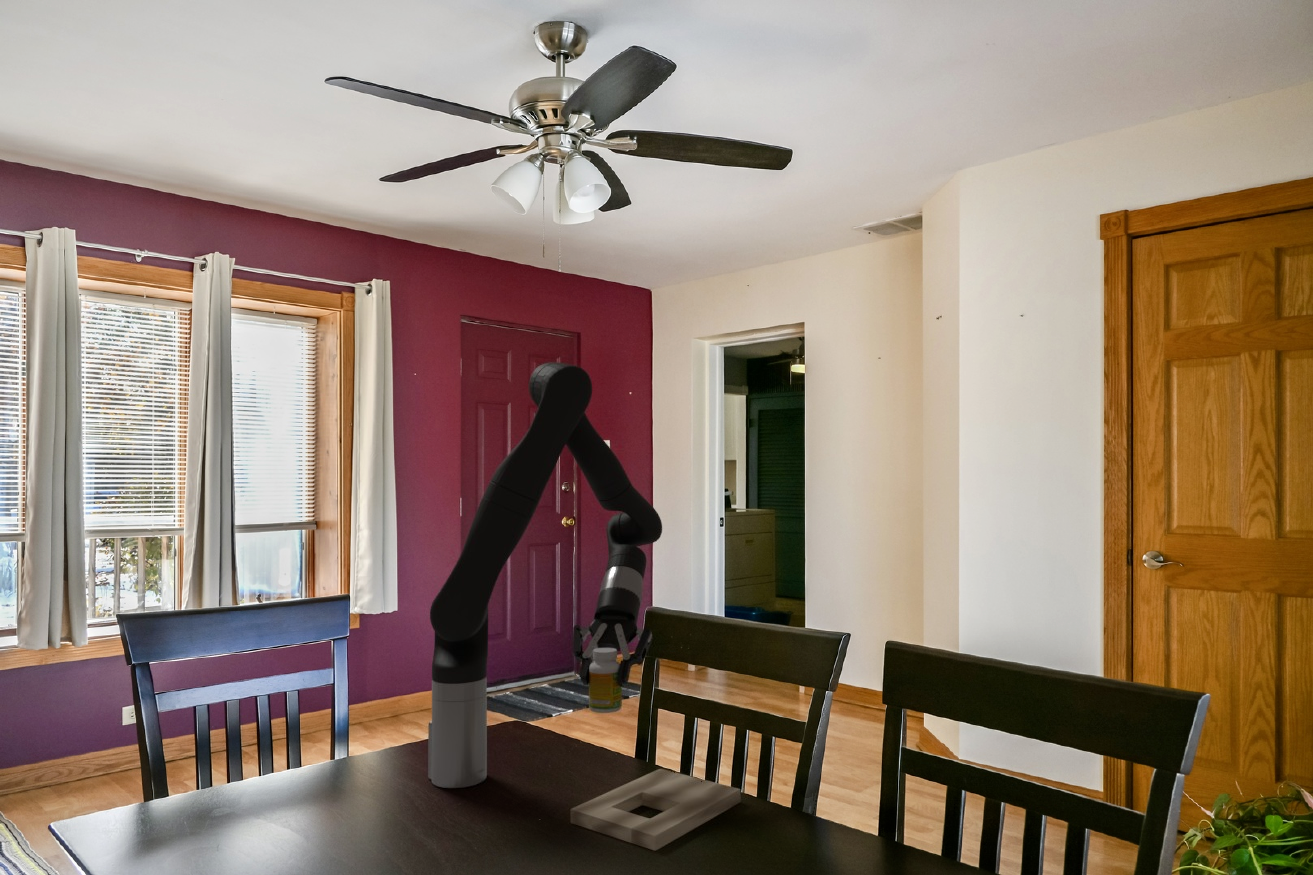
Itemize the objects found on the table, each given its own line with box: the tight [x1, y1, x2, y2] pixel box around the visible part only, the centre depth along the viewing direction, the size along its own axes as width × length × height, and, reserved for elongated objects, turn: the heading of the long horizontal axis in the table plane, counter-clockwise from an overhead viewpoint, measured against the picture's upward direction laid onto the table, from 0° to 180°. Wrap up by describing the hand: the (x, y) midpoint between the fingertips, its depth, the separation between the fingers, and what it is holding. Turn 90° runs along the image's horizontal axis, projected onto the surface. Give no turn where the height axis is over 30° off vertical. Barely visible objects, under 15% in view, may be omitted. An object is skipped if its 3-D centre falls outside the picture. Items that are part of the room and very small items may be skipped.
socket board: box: [570, 768, 742, 851], centre depth 131 cm, size 16×22×2 cm
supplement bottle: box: [588, 648, 623, 714], centre depth 141 cm, size 5×5×10 cm
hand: (602, 682), depth 139 cm, fingers closed on supplement bottle, 5 cm apart
